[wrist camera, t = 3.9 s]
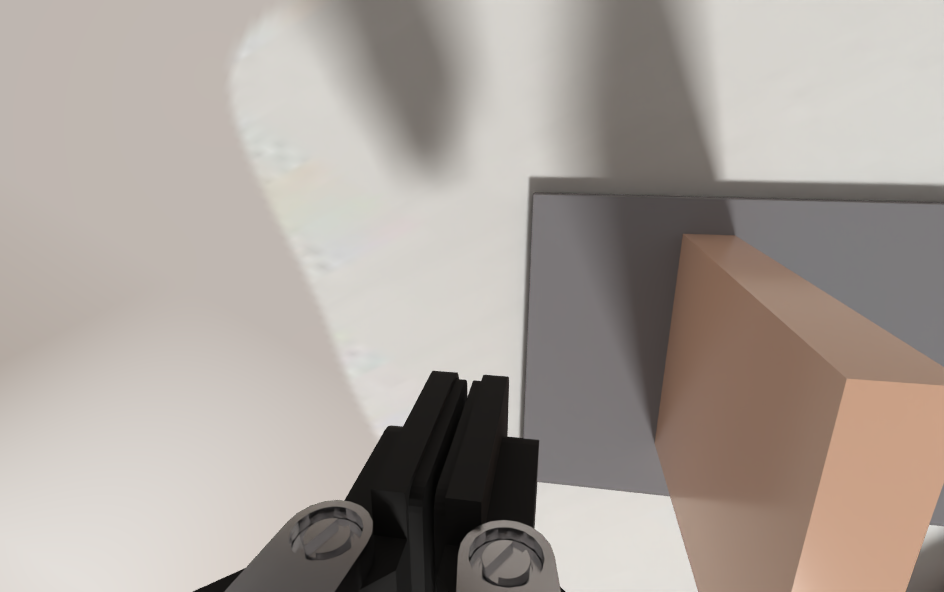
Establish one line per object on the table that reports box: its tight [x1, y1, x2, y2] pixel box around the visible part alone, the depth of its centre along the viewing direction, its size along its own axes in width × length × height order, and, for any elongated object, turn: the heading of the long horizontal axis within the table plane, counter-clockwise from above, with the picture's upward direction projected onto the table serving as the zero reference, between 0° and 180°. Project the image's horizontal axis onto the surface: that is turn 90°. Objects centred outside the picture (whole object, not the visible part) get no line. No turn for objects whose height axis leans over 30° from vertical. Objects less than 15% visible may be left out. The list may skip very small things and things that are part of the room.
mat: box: [523, 193, 944, 526], centre depth 16 cm, size 17×10×1 cm, turn 90°
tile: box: [655, 234, 944, 592], centre depth 11 cm, size 2×7×9 cm, turn 0°
